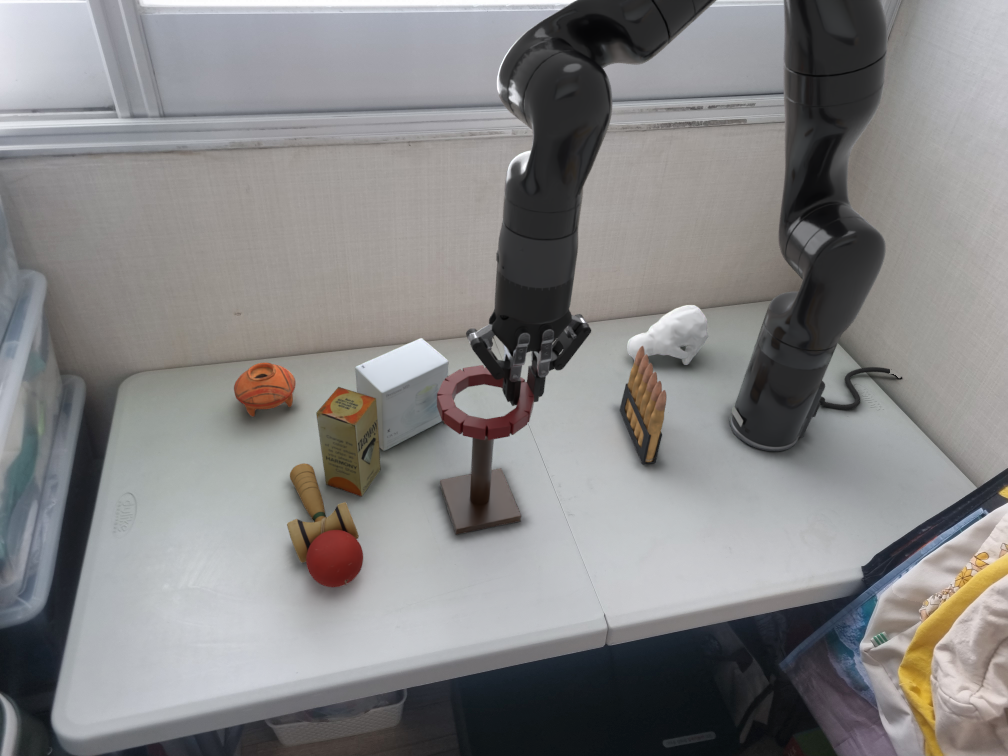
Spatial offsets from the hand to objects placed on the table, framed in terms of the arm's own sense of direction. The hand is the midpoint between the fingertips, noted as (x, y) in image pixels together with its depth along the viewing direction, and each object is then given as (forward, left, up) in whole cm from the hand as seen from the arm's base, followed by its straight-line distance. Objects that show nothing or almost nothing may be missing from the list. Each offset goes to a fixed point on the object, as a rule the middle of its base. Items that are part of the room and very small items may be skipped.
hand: (522, 398), depth 84 cm
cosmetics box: (+10, -16, -16) cm, 25 cm away
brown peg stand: (+4, 0, -16) cm, 17 cm away
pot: (+27, -24, -16) cm, 40 cm away
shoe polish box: (+18, -8, -16) cm, 26 cm away
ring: (+4, 0, 0) cm, 4 cm away
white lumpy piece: (-31, -21, -16) cm, 41 cm away
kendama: (+23, 0, -16) cm, 28 cm away
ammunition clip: (-20, -6, -16) cm, 26 cm away
